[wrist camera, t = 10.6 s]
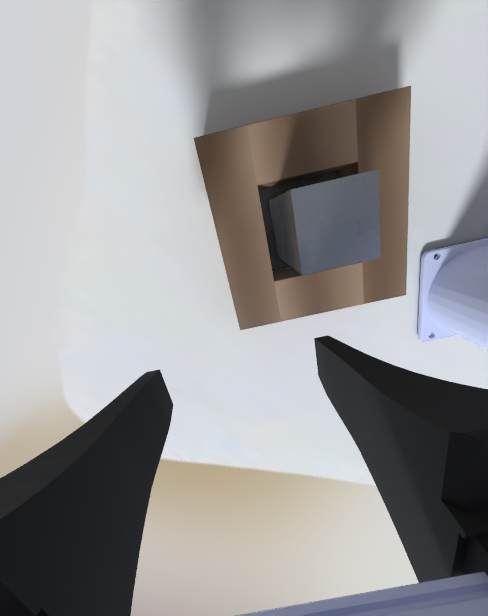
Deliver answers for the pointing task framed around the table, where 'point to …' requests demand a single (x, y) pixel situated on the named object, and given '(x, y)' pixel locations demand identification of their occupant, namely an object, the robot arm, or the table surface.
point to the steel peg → (328, 223)
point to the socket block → (299, 165)
